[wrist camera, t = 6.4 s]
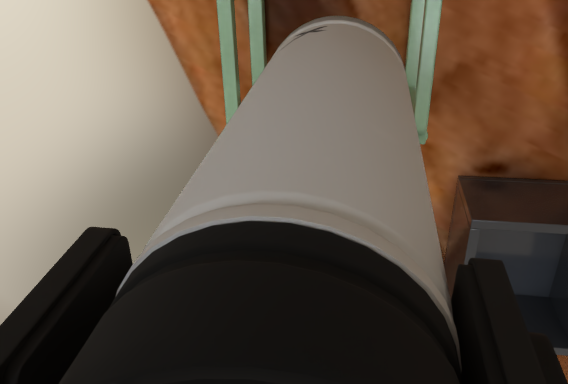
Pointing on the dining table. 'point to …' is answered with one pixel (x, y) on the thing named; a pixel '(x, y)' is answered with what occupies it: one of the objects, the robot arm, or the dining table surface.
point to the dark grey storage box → (517, 244)
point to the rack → (416, 65)
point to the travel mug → (294, 239)
